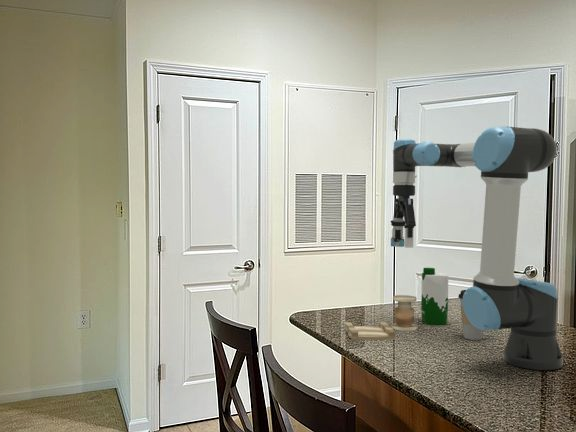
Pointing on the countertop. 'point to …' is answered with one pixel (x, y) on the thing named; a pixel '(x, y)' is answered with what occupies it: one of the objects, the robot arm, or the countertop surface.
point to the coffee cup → (469, 324)
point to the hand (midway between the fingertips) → (403, 245)
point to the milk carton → (434, 297)
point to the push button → (397, 232)
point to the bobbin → (404, 313)
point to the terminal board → (370, 332)
